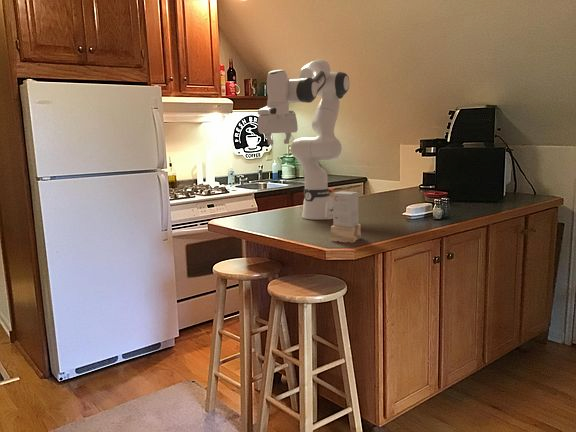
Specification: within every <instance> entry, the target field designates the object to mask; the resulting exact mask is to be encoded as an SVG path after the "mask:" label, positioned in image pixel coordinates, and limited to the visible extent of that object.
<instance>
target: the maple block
mask: <svg viewBox="0 0 576 432" xmlns="http://www.w3.org/2000/svg"><path fill="white" fill-rule="evenodd" d="M361 226H362V225H361V223H359V225H356V226H354V227H343V226H334V225H333V224H332V225H331V226H330V241H331V242H337V241H339V242H341V243H347V242H350V244H353V243H355V242H357V241H358V239H359V240H360V239H362V238H361V237H362V234H361V232H362V230H361V229H362V227H361ZM356 240H357V241H356ZM339 242H338V243H339Z"/></svg>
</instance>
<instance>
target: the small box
mask: <svg viewBox="0 0 576 432" xmlns="http://www.w3.org/2000/svg"><path fill="white" fill-rule="evenodd" d="M332 198H333V219H332V221H333V223H332V226H333V225H334V226H343V227H354V226H356V225H359V224H360V223H359V221H360V220H359V219H360V217H359V215H360V214H359V191H358V192H356V191H342V190H341V191H336V192H333V193H332Z"/></svg>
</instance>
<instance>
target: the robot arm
mask: <svg viewBox="0 0 576 432" xmlns="http://www.w3.org/2000/svg"><path fill="white" fill-rule="evenodd" d="M266 77H267V78H266V95H267V101H266V106H264V107H262V108H259V109H258V110H257V114H258V118H257V132H258V133H259V134H262V135H263V134H264V135H265V139H266V141H267V145H272V146H273V145H274V140H273V139H272V134H285V139H283V143H284V144H285V145H288V144H290V139H291V137H292V133H297V132H298V129H299V128H298V127H299V125H298V120H297V113H296V112H295V111H294V110H289V108H290V107H289V104H290V103H313V101H314V100H315V99H316V98H317V96H321V98H320V100H319V102H318V105H317V107H316V109H315V111H314V112H315V113H314V115H313V119H312V121H311V127H312V130H313V131H314V132H315V133H316V134H317V135H316V136H302V137H298V138H295V139H294V140H293V141H292V142H291V145H290V152H291V155H292V156H293V158H295V159H296V160H297V161H298V163H299V164H300V166H301V169H302V171H303V179H304V188H303V196H304V199H303V204H302V205H303V206H302V213H301V218H302V219H305V220H333V196H331V193H332V194H333V193H334V189H333V188H328V182H329V181H328V172H327V171H326V170H325V169H324V168H323V167H321V166H320V164H319V162H318V161H329V160H330V161H331V160H336V159H338V158H339V157H340V155H341V153H342V144H341V142H340V140H339V138H337V137H336V136H335V127H336V122H337V119H338V115H339V111H340V99H343V97H344V96H345V95H346V94H347V93H348V91H349V89H350V78H349V75H348V74H347V73H346V72H344V71H343V72H342V71H331V66H330V63H328V61H326V60H325V59H322V58H319V59H315V60H312V61H310V62H307V64H305V65H303V66H302V67H301V69H300V70H299V76H298V77H299V78H293V79H292V78H291V79H290V78H289V77H288V74H287V71H286V70H285V69H275V70H271V71H269V72H268V74H267V76H266Z"/></svg>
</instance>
